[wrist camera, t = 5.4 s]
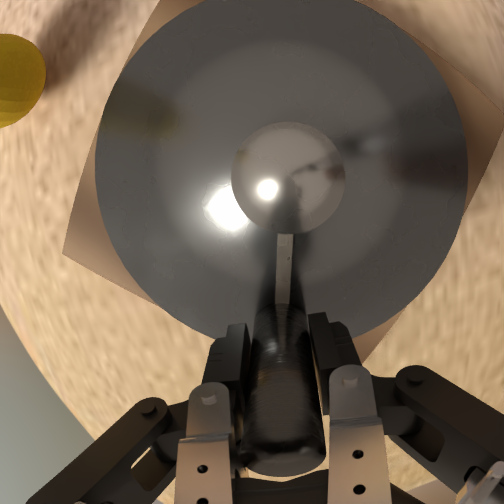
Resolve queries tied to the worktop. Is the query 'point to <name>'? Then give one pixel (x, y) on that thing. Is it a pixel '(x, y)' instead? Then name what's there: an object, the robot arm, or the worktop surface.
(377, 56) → the handwheel
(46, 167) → the worktop surface
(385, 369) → the worktop surface
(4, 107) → the lemon
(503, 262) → the worktop surface
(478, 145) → the wheel stand
